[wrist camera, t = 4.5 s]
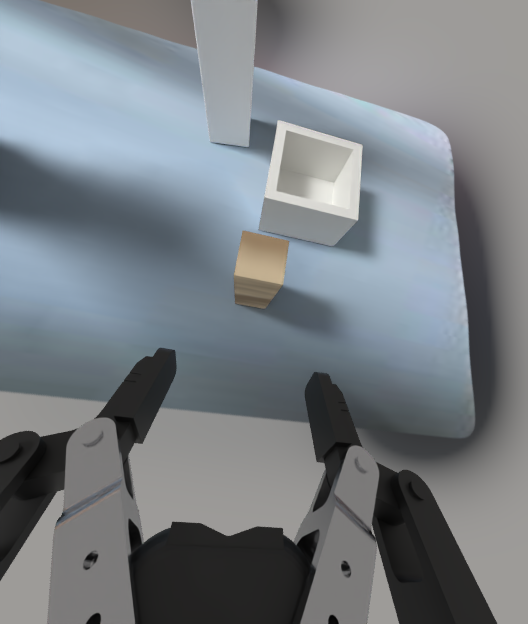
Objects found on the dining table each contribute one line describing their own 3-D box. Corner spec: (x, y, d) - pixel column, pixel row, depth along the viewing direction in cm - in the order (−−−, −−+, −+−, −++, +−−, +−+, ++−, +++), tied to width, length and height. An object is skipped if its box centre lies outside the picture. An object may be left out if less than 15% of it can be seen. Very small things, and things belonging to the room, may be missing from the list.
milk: (249, 118, 30) (281, -428, 9) (248, 148, 29) (284, -393, 8) (210, 111, 30) (144, -511, 8) (208, 142, 28) (126, -485, 7)
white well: (333, 246, 28) (358, 220, 22) (258, 229, 27) (264, 197, 21) (338, 183, 30) (362, 144, 25) (270, 165, 29) (278, 120, 23)
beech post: (265, 309, 25) (282, 284, 15) (235, 303, 25) (233, 275, 15) (269, 281, 26) (289, 240, 16) (240, 275, 25) (242, 230, 16)
